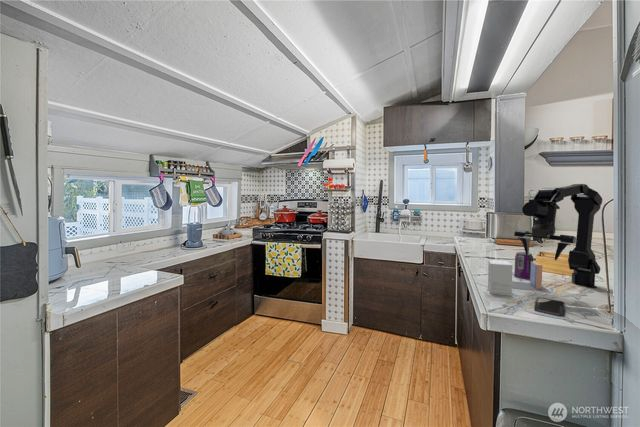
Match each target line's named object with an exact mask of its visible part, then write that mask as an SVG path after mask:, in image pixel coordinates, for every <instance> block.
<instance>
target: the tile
mask: <svg viewBox="0 0 640 427" xmlns="http://www.w3.org/2000/svg"><path fill="white" fill-rule="evenodd" d="M529 280H530V281H529V283H530V285H532V286H533V287H534V288H535V289H542V286H543V285H542V283H543V264H541V263H539V262H537V261H533V262H531V275H530V279H529Z"/></svg>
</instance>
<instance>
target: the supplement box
mask: <svg viewBox="0 0 640 427" xmlns="http://www.w3.org/2000/svg"><path fill="white" fill-rule="evenodd" d="M487 263H488V267H487V268H488V272H487V273H488V274H487V289H488V291H489V293H490V294H491V295H492V294H493V295H503V296H511V297H512V292H513V289H512V281H513V264H512V263H511V262H510V261H509V260H507V261H506V260H493V259H492V260H491V259H488V262H487Z"/></svg>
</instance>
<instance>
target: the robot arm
mask: <svg viewBox="0 0 640 427" xmlns="http://www.w3.org/2000/svg"><path fill="white" fill-rule="evenodd" d="M567 197H570V200H571V202H572V203H573V204H574V210H575V211H576V213H577V214H578V217H577V218H578V219H577V230H576V236H574V235H566V234H560V235H555V234H556V217H557V212H558V211H557V210H560V206H559V205H558V204H557V203H560V202H561V201H563V200H564V198H567ZM602 203H603V197H602V196H601V195H600V193H599V192H598V191H596V190H594V189H593V188H590V187H589V186H588V185H587V184H585V183H574V184H570V185H566V186H560V187H541V188H539V189H538V191H536V193H535V195H534V196H533V198H529V199H528V202H526V203H524V205H523V206H522V208H521V210H522V211H521V212H522V213H523V214H524V215H525V216H527V217H532V218H536V220H535V224H534V225H533V226H531V232H530V231H529V230H523V229H516V230H514V234H513V236H515V237H517V239H519V240H520V241H521V242H522V245H523V249H524V252H525V253H526V255H527V256H528V253H530V243H531V242H530V241H531V240H530V238H537V239H544V240H551V241H559V242H557V248H556V250H555V255H554V261H557V260H558V258H559V257H560V256H561V254H562V252H563V251H564V250H565V248H567V246H571V245H572V244H573V245H575V247H573V249H572V250H569V252H568V259H567V261H568V262H567V263H568V268H569V270H573V271H572V273H571V283H572V284H575V285H577V286H580V287H581V286H583V287H585V288H595V289H596V288H598V286H597V285H596V284H595V283H596V282H595V281H596V275H599V274H600V272H601V267H600V265H599V263H598V262H597V260H596V254H595V253H594V251H593V250H592V242H593V231H594V219H595V215H596V214H597V213H598V212H599V211H600V210H601V205H602Z"/></svg>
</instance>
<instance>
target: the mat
mask: <svg viewBox="0 0 640 427" xmlns="http://www.w3.org/2000/svg"><path fill="white" fill-rule="evenodd" d="M512 290H520V291H533V292H543V293H551V291H549V290H548V289H547V288H546V287H545V286H543V285H542V289H535V288H534V287H533V286H532V285H530V282H526V281H525V282H523V281H514V280H512Z"/></svg>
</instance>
